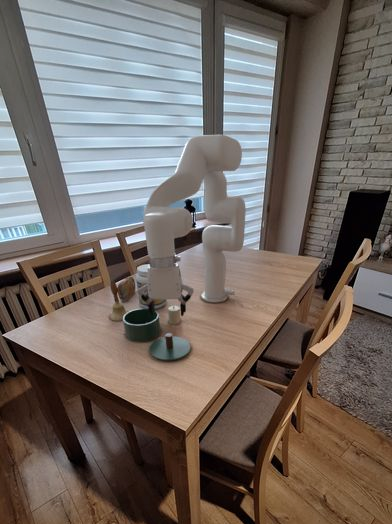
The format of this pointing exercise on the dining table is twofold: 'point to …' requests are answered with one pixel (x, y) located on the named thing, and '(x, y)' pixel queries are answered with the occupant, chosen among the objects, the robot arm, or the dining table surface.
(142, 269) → the supplement tub
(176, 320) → the candle
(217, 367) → the dining table surface
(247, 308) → the dining table surface
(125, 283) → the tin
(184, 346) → the tin lid
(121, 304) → the hand bell
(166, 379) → the dining table surface
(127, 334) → the candle tin
